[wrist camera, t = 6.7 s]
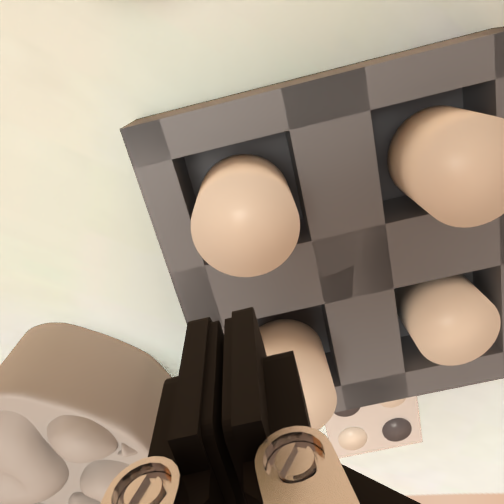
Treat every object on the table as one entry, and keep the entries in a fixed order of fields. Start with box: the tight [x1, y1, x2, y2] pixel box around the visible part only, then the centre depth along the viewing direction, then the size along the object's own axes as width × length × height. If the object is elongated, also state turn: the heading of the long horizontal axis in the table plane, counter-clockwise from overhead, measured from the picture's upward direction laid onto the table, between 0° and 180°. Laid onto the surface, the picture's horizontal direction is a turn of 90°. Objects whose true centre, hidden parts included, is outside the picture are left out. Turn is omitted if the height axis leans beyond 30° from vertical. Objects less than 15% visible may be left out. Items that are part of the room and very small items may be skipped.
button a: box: [387, 105, 504, 228], centre depth 21 cm, size 5×5×4 cm
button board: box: [120, 27, 504, 413], centre depth 27 cm, size 20×20×4 cm
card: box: [325, 396, 422, 458], centre depth 34 cm, size 7×7×1 cm
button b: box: [394, 274, 501, 366], centre depth 28 cm, size 5×5×4 cm
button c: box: [191, 154, 300, 277], centre depth 22 cm, size 5×5×4 cm
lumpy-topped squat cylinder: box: [0, 323, 172, 504], centre depth 29 cm, size 10×13×9 cm
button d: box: [259, 319, 337, 430], centre depth 26 cm, size 5×5×4 cm
